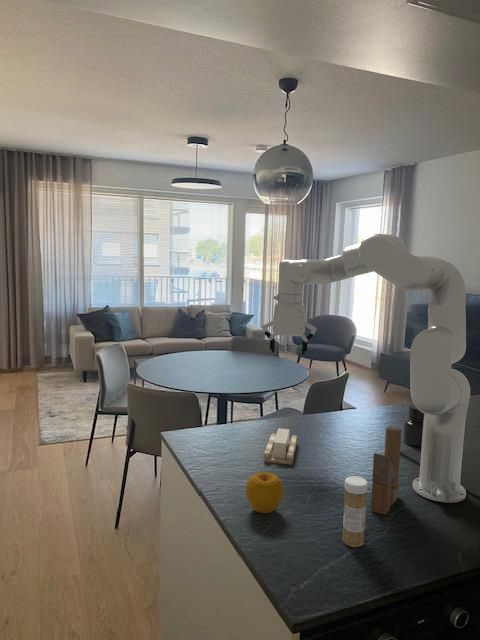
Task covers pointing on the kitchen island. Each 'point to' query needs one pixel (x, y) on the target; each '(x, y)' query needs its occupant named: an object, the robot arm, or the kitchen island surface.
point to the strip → (281, 443)
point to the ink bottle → (413, 427)
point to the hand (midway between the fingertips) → (288, 352)
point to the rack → (289, 456)
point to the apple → (264, 492)
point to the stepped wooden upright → (386, 473)
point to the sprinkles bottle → (354, 511)
